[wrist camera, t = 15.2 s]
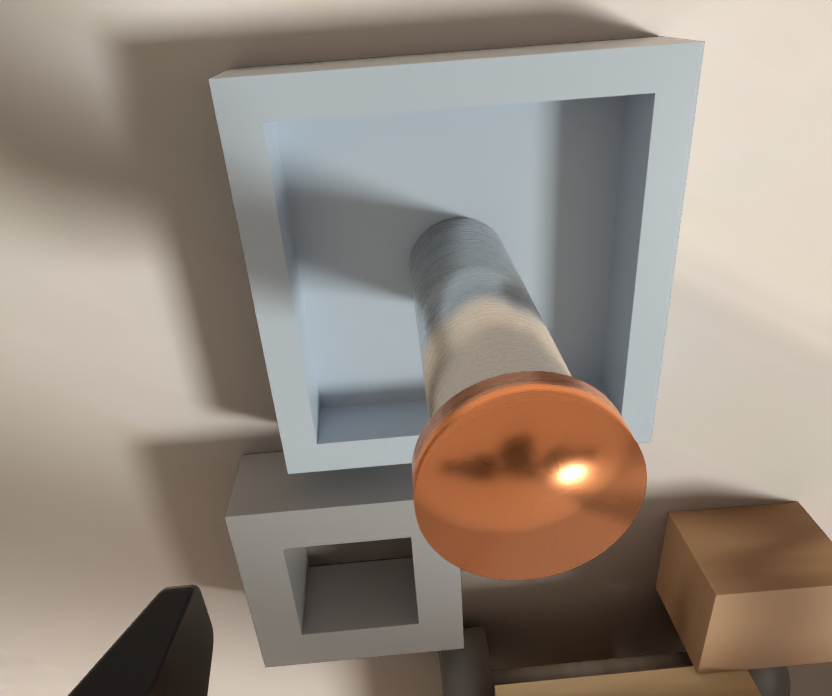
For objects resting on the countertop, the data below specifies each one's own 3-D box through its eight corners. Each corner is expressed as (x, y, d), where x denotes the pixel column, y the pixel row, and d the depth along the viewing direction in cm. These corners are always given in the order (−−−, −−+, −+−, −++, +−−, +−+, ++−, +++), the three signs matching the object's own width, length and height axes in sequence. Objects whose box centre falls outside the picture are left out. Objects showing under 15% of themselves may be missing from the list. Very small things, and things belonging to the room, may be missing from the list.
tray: (660, 35, 17) (705, 41, 14) (623, 397, 22) (651, 441, 20) (230, 68, 16) (208, 78, 14) (296, 425, 22) (288, 474, 19)
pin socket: (446, 437, 22) (457, 495, 20) (454, 581, 26) (463, 648, 23) (242, 455, 22) (224, 517, 19) (276, 597, 25) (265, 667, 23)
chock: (796, 499, 25) (866, 582, 21) (774, 574, 27) (835, 661, 23) (667, 510, 25) (716, 595, 21) (654, 584, 27) (697, 674, 23)
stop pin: (521, 198, 18) (660, 389, 9) (519, 316, 19) (634, 570, 11) (390, 208, 18) (406, 411, 9) (400, 325, 19) (421, 589, 11)
